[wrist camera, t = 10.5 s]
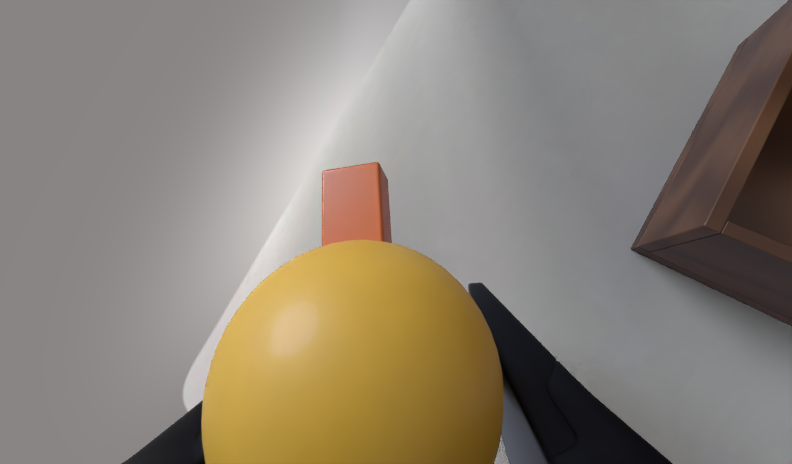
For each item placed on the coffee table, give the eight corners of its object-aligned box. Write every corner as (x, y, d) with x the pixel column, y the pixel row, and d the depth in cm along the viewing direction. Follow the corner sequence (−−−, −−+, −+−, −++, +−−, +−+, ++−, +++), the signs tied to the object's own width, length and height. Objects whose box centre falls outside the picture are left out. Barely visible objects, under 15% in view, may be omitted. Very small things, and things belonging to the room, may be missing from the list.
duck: (473, 376, 14) (627, 865, 2) (381, 378, 14) (40, 726, 2) (457, 252, 15) (478, 57, 3) (375, 260, 16) (154, 126, 4)
